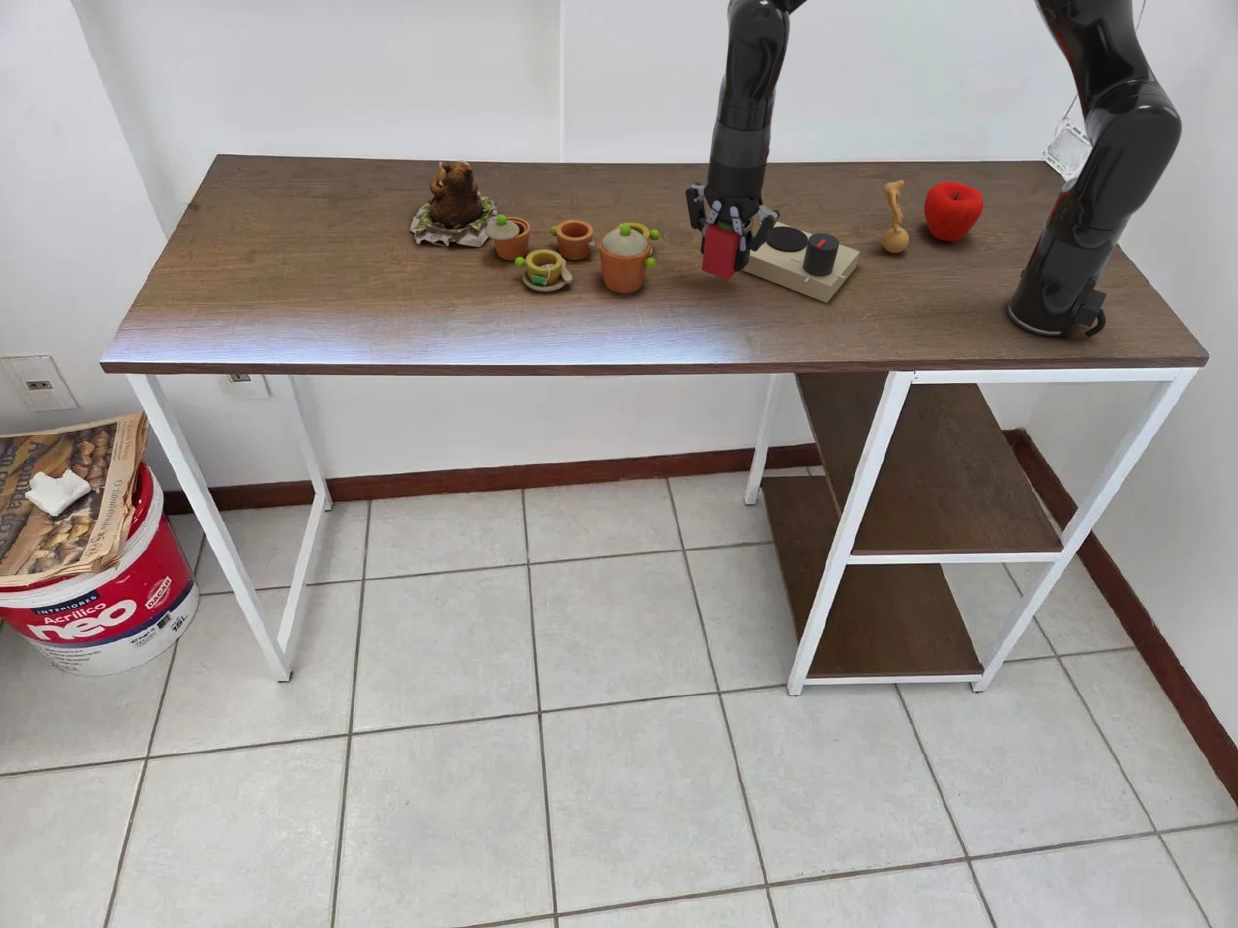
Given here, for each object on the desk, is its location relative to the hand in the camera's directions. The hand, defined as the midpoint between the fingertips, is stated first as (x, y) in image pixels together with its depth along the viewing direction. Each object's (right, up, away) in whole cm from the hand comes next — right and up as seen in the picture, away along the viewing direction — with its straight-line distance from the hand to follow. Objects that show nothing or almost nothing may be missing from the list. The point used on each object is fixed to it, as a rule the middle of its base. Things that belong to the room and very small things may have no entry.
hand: (723, 262), depth 127 cm
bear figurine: (-41, +9, +12) cm, 44 cm away
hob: (+12, +1, +7) cm, 14 cm away
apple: (+37, +8, +15) cm, 41 cm away
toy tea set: (-22, 0, +5) cm, 22 cm away
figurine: (+27, +4, +11) cm, 30 cm away
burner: (+10, +5, +7) cm, 13 cm away
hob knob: (+14, 0, +2) cm, 14 cm away
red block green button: (0, -1, +1) cm, 1 cm away
